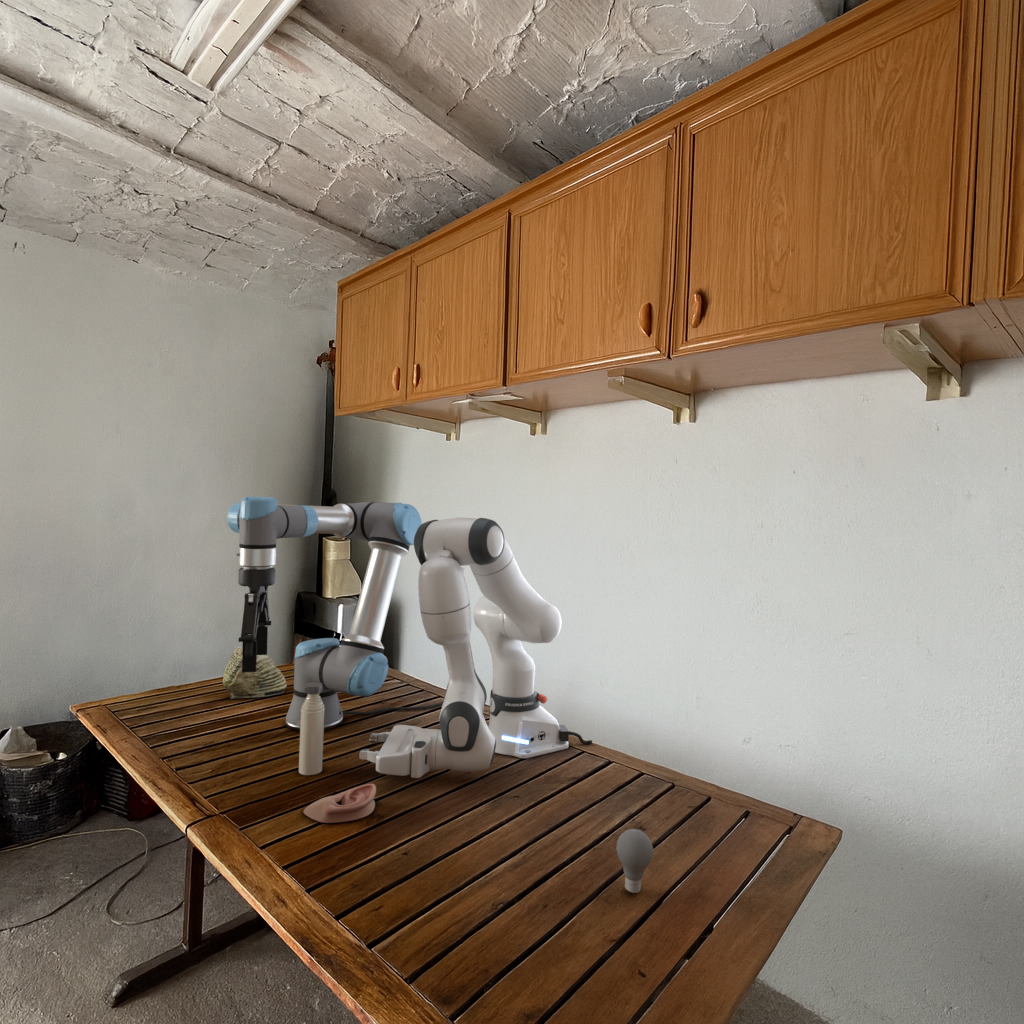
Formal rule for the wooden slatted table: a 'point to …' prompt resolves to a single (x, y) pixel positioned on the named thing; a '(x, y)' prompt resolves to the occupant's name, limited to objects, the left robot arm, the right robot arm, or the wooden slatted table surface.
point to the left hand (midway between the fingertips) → (255, 662)
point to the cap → (313, 688)
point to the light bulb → (634, 857)
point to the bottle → (311, 735)
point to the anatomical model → (343, 805)
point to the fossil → (253, 677)
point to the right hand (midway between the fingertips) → (365, 745)
